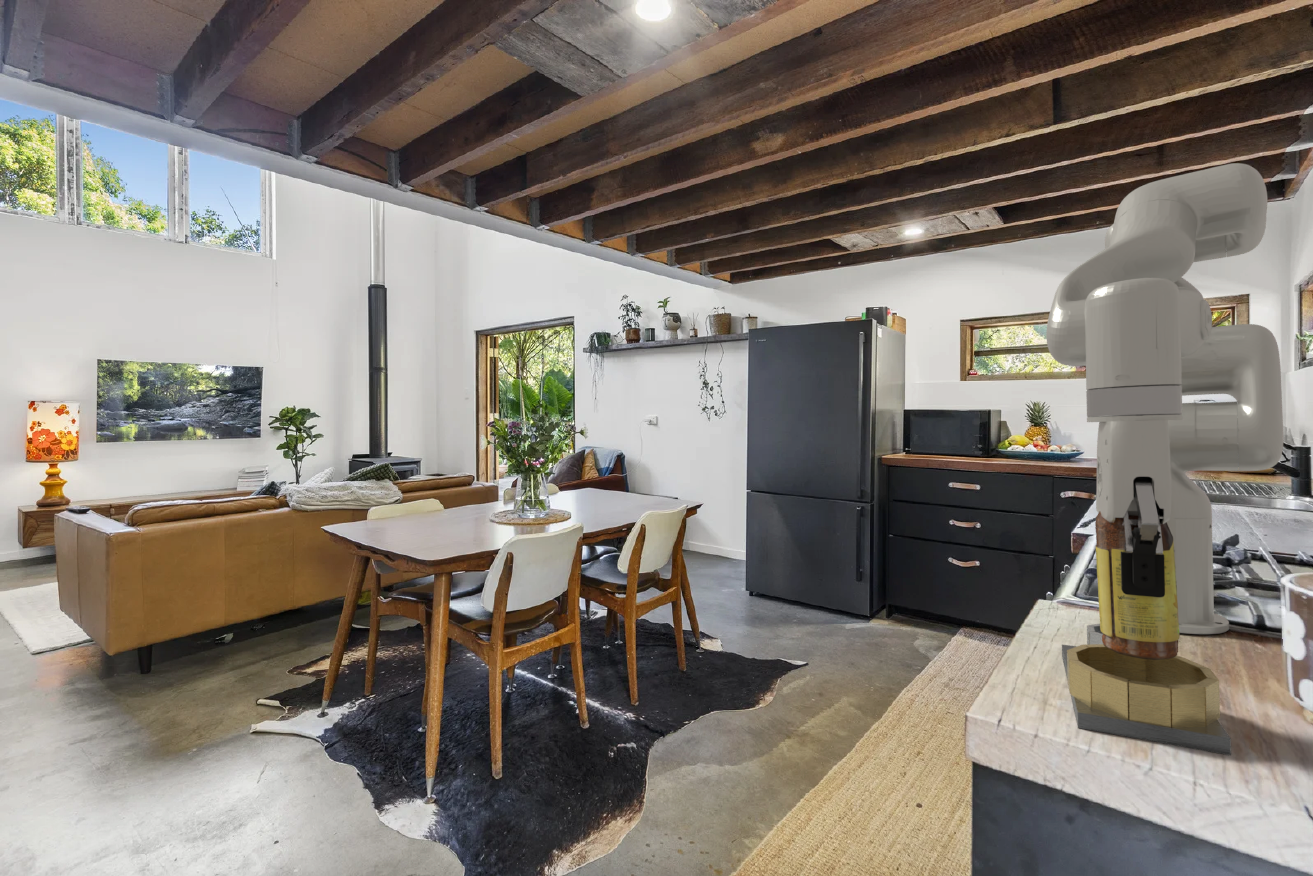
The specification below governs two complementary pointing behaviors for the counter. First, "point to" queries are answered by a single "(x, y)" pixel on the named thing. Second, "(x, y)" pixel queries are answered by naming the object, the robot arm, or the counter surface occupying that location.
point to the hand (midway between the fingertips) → (1136, 585)
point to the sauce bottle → (1135, 599)
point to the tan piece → (1144, 696)
